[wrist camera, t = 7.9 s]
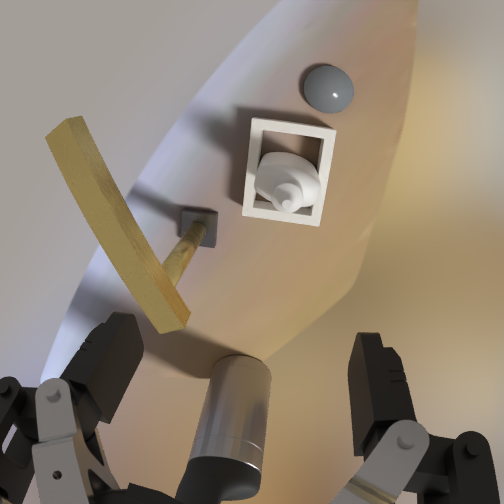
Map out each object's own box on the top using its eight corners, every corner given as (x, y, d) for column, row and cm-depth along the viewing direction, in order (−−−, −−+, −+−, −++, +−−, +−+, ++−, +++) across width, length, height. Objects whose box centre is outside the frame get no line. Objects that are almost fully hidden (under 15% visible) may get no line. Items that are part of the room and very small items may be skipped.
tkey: (128, 117, 30) (45, 137, 18) (146, 106, 30) (66, 118, 17) (200, 256, 37) (159, 334, 25) (218, 249, 36) (184, 328, 24)
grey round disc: (349, 117, 29) (350, 117, 29) (300, 108, 29) (300, 108, 29) (355, 71, 27) (356, 71, 26) (306, 62, 27) (306, 61, 27)
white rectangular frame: (317, 217, 35) (319, 226, 32) (245, 207, 35) (242, 215, 33) (332, 128, 30) (336, 130, 28) (254, 117, 30) (252, 118, 28)
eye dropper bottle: (282, 135, 31) (278, 154, 20) (321, 172, 32) (337, 210, 22) (253, 165, 33) (235, 199, 22) (292, 200, 34) (293, 250, 23)
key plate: (216, 244, 37) (214, 248, 37) (183, 239, 38) (181, 243, 37) (217, 212, 36) (216, 215, 35) (184, 208, 36) (181, 211, 35)
